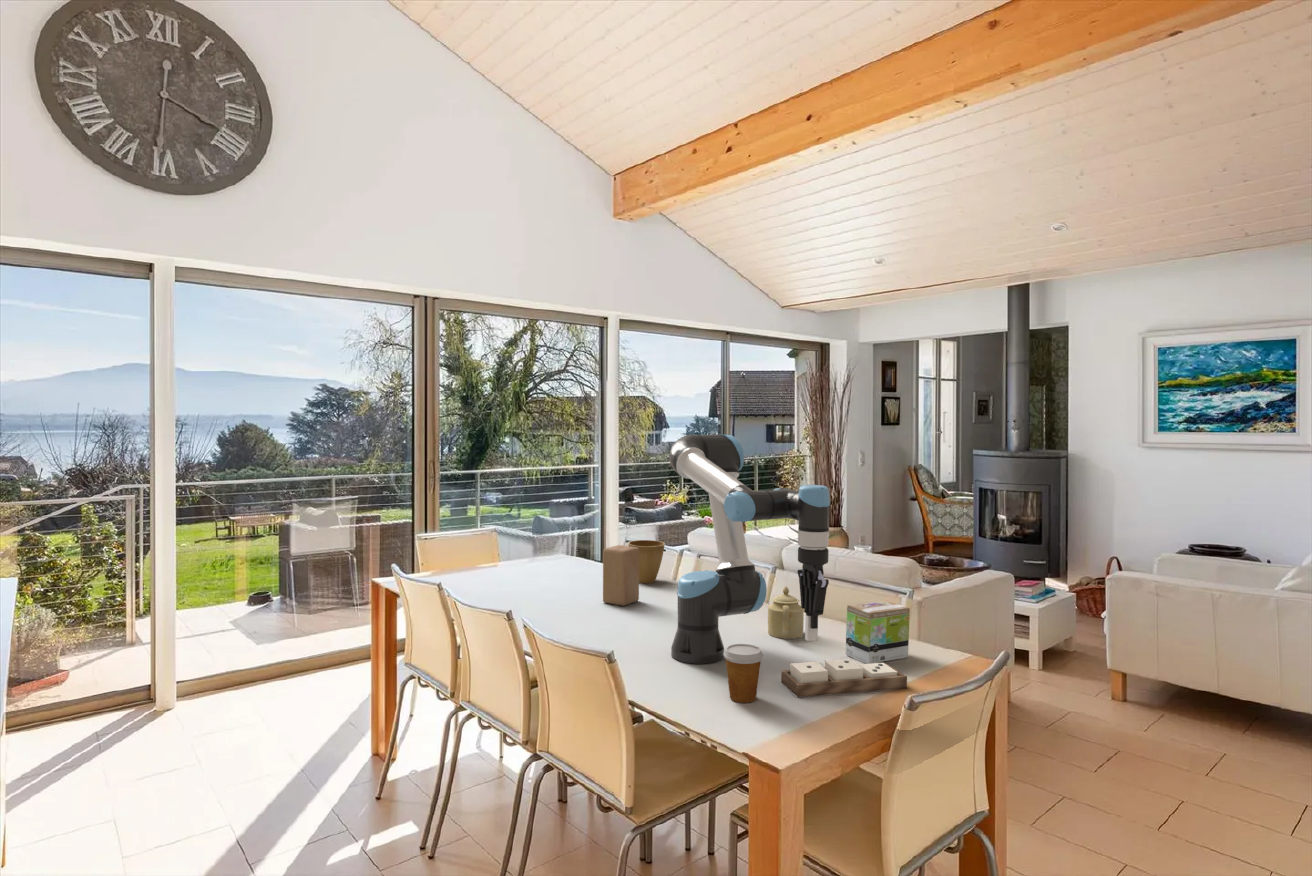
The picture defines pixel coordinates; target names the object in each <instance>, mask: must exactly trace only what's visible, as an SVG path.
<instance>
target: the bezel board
mask: <svg viewBox="0 0 1312 876" xmlns="http://www.w3.org/2000/svg"><path fill="white" fill-rule="evenodd" d="M883 663H884V664H886V665H887V666H889V667H891V668H892V669H894V670H895V671H897V676H889V677H876V678H870V677H869V676H867V675H866V674H864V673H863V679H850V680H837V681H836V680H834V679H833V678H832V677H830V676H829V675H828V681H824V682H812V683H799V682H798V681H797V680H795V679H794V678H793V677H792V676H791V675H790V669H786V670H781V671H780V676H781V677H780V679H781V681H780V682H781V684H783V685H784V687H786V688H787V689H788V691H790V692H791V693H792V694H793V695H794V696H796V697H797V698H803V697H804V698H807V697H819V696H820V697H821V696H831V695H842V694H844V695H845V694H853V693H854V694H855V693H856V694H857V693H867V692H879V691H890V690H891V691H892V690H903V689H904V690H905V689H908V676H907V675H905V674H904V673H902V672H901V671H899V670H897V669H896V668H894V667H893V666H891V665H889V664H888V663H886V662H883ZM824 668H825V666H824Z"/></svg>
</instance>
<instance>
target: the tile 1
mask: <svg viewBox="0 0 1312 876" xmlns="http://www.w3.org/2000/svg"><path fill="white" fill-rule="evenodd" d="M824 667H825V666H824ZM824 667H823V666H822V665H821V664H820V663H819V662H817V661H807V662H794V663H793V662H792V663H790V668H789V670H790V675H791V676H792V677H793V678H794V679H795V680H797V681H798V682H799V683H812V682H824V681H828V671H827V670H826V669H825V668H824Z"/></svg>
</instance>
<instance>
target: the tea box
mask: <svg viewBox="0 0 1312 876" xmlns="http://www.w3.org/2000/svg"><path fill="white" fill-rule="evenodd" d="M846 607H847V608H846V627H845V629H846V630H845V633H846V634H845V655H846V656H848V657H850V658H852V659H855V660H857V661H859V662H861V663H863V664H872V663H884V662H888V661H889V662H890V661H894V660H901V659H907V658H908V657H909V639H910V635H909V634H910V612H911V611H910V609H911V608H910V607H908V606H905V605H901V604H899V603H896V602H893V601H890V600H885V599H883V600H877V601H876V600H875V601H869V602H861V603H853V604H847V606H846ZM906 657H907V658H906Z"/></svg>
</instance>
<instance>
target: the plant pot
mask: <svg viewBox="0 0 1312 876" xmlns="http://www.w3.org/2000/svg"><path fill="white" fill-rule="evenodd" d="M665 544H666V543H665V542H663V541H659V540H649V539H637V540H631V541H629V542H628V546H630V547H637V548H639V584H653V583H655V582H656V579H657V577H658V574H659V571H660V567H661V564H662V562H663V561H662V560H663V556H664V550H665V546H666V545H665Z"/></svg>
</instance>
